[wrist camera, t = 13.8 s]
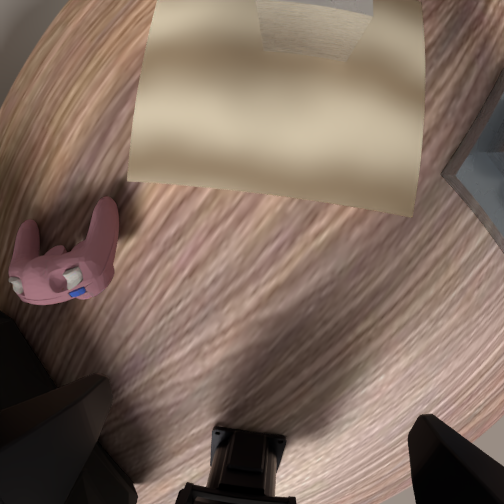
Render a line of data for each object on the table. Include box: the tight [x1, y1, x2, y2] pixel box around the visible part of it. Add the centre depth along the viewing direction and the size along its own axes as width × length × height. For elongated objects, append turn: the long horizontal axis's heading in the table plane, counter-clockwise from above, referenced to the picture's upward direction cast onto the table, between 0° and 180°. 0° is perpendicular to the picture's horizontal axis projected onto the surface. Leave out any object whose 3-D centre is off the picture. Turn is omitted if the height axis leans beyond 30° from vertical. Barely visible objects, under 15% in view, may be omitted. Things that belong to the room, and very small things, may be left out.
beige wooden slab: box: [127, 0, 425, 218], centre depth 15 cm, size 14×16×3 cm
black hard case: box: [0, 311, 138, 504], centre depth 17 cm, size 30×12×20 cm, turn 22°
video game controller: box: [8, 196, 119, 305], centre depth 18 cm, size 10×5×7 cm, turn 99°
